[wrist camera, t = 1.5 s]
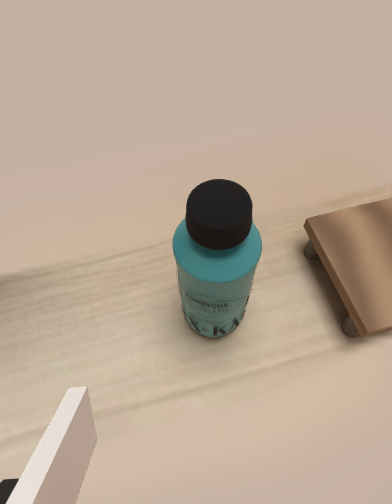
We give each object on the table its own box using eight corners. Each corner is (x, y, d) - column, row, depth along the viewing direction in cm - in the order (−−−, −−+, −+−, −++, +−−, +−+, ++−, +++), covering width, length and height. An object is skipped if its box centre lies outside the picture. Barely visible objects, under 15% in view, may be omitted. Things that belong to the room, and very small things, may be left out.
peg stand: (345, 347, 33) (367, 332, 29) (295, 244, 40) (306, 218, 35) (464, 312, 35) (505, 293, 30) (397, 218, 41) (422, 190, 36)
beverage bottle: (184, 288, 37) (161, 161, 20) (241, 286, 37) (268, 156, 20) (184, 345, 34) (157, 251, 17) (246, 343, 34) (284, 247, 17)
